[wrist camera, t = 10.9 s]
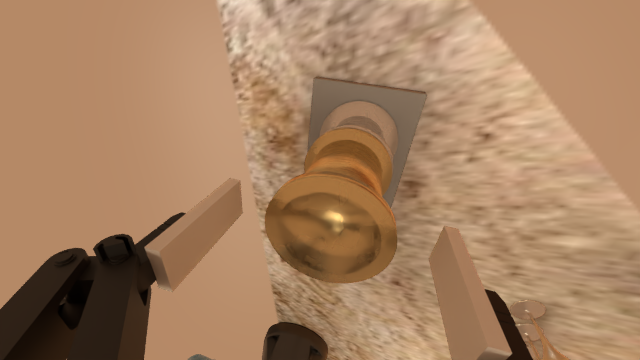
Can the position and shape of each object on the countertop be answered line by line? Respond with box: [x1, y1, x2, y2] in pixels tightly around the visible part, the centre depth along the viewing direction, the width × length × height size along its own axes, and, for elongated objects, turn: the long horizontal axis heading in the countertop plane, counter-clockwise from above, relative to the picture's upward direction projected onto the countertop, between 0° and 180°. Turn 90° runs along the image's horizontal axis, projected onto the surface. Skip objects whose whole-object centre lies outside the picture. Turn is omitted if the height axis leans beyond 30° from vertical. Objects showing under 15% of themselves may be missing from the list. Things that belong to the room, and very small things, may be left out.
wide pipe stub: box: [320, 100, 398, 179], centre depth 24 cm, size 9×9×8 cm
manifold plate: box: [308, 77, 427, 208], centre depth 31 cm, size 24×12×2 cm, turn 174°
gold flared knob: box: [265, 127, 397, 283], centre depth 17 cm, size 8×8×9 cm
